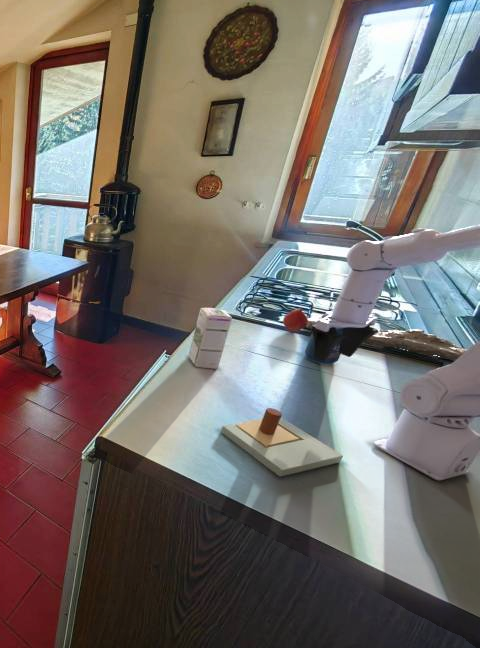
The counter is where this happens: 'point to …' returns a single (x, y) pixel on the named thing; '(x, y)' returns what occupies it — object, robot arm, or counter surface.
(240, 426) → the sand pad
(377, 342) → the driftwood log
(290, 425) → the notched mat
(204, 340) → the syrup box
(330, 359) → the soda can
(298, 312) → the red round piece
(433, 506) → the counter surface
